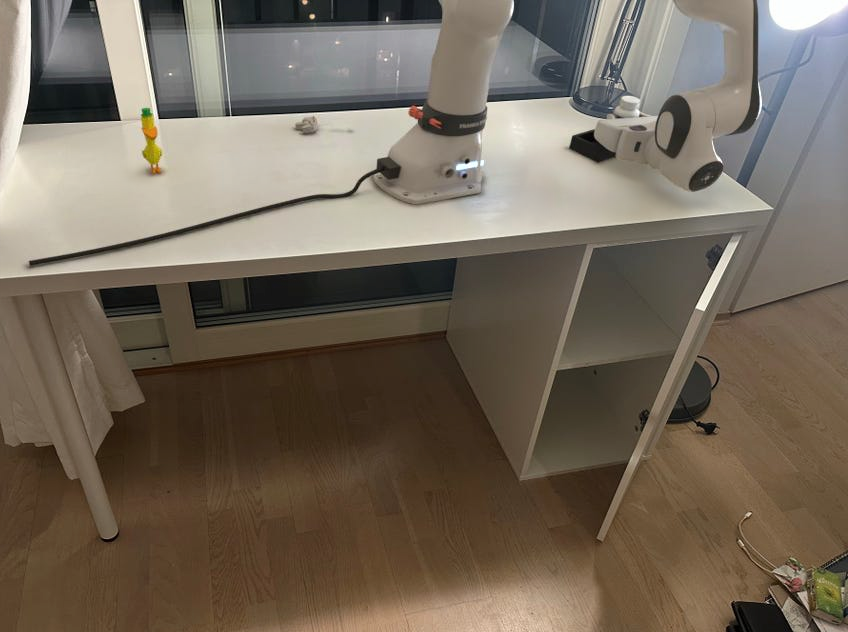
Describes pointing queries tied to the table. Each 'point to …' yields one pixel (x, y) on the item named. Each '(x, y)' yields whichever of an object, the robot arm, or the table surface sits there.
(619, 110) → the pill bottle
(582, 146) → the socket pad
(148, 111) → the toy figure
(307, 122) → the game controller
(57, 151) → the table surface
